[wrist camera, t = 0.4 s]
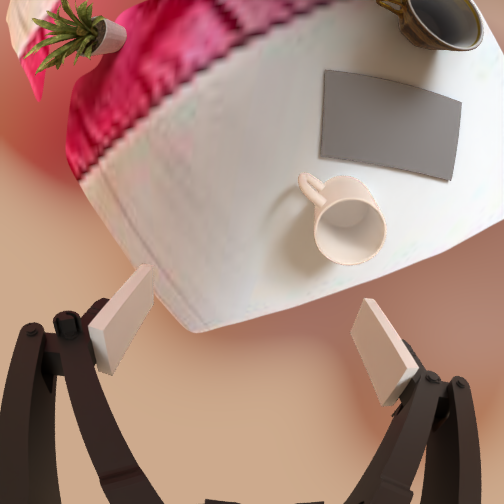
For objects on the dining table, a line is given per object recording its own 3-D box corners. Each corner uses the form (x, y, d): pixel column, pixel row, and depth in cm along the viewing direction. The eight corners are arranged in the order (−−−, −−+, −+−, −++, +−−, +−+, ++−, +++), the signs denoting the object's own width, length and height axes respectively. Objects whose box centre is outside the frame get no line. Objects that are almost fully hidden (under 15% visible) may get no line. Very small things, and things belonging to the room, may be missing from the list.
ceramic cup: (444, 9, 18) (474, -9, 9) (453, 67, 22) (489, 61, 14) (360, -10, 20) (371, -40, 12) (368, 49, 25) (386, 31, 17)
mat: (459, 102, 25) (461, 102, 24) (449, 179, 31) (451, 180, 30) (325, 70, 28) (325, 69, 28) (320, 155, 35) (320, 156, 34)
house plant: (93, 7, 26) (26, -2, 12) (155, -8, 25) (86, -36, 11) (81, 74, 34) (9, 83, 20) (139, 67, 32) (60, 66, 19)
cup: (344, 238, 40) (350, 277, 31) (282, 188, 38) (272, 215, 30) (382, 200, 36) (400, 231, 27) (319, 144, 34) (321, 157, 25)
